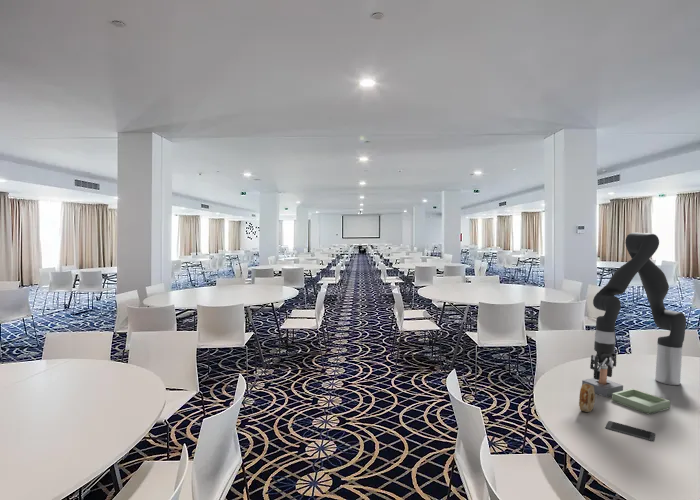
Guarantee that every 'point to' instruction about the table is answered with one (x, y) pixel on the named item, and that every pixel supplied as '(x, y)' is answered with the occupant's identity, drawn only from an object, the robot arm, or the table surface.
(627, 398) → the parts tray
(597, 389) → the grey flat square piece
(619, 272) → the robot arm
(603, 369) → the peg
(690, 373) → the table surface
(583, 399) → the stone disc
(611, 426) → the cell phone
